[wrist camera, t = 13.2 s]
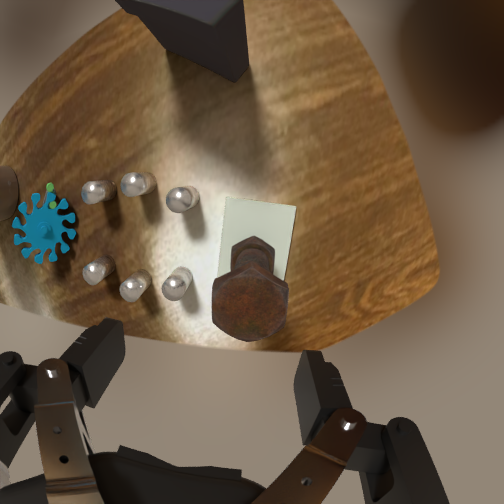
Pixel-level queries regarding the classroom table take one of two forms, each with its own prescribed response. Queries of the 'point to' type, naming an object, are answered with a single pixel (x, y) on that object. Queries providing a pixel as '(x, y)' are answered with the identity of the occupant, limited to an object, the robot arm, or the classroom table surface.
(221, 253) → the plate
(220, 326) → the bolt
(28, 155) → the classroom table surface
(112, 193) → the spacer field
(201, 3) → the dark grey slab
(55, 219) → the gear
